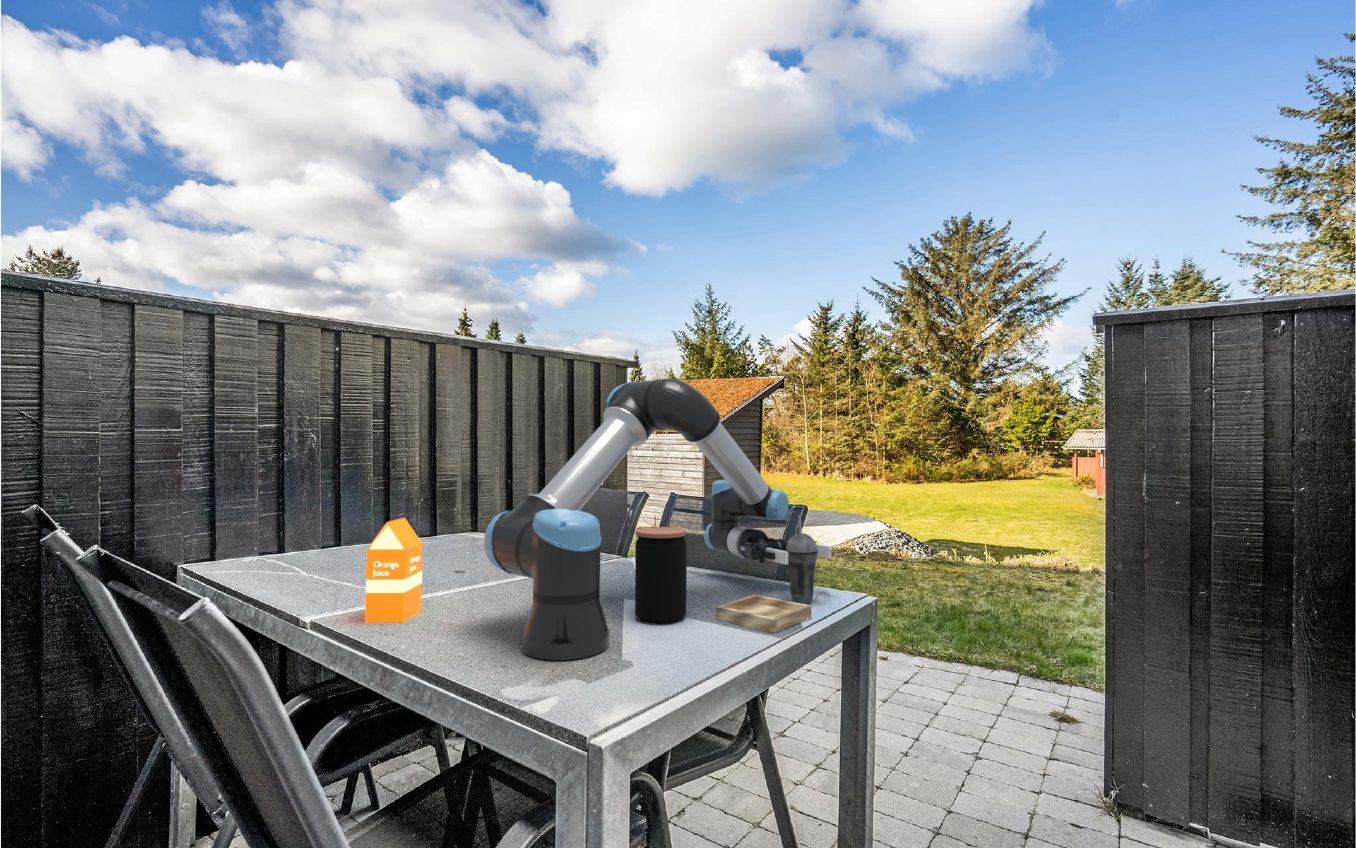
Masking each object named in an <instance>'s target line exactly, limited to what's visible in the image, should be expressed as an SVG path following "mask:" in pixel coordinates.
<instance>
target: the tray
mask: <svg viewBox="0 0 1356 848" xmlns="http://www.w3.org/2000/svg"><path fill="white" fill-rule="evenodd" d="M810 617H811V618H812V605H811V604H808V605H805V604H800V603H795V602H792V601H789V600H784V599H779V598H774V597H768V596H764V595H759V594H753V595H750V596H749V595H748V596H746V597H743V598H739V599H737V600H733V601H731V602H727V603H724V604H721V605H717V606H715V619H716V620H717V621H718V620H719V621H721V622H722V621H723V622H727V623H730V624H735V625H738V626H743V627H745V628H751V629H754V630H759V631H763V632H766V633H770V634H776V633H779V632H781V631H784V630H786V629H789V628H791V627H794V626H796V625H797V624H796V623H798V624H800V622H801V621H803V622H805V621H807V620H806V619H807V618H810ZM811 618H810V619H811ZM804 620H805V621H804ZM801 623H802V622H801ZM795 624H796V625H795ZM790 626H791V627H790ZM785 628H786V629H785ZM780 630H781V631H780Z"/></svg>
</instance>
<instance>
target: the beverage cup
mask: <svg viewBox="0 0 1356 848" xmlns="http://www.w3.org/2000/svg"><path fill="white" fill-rule="evenodd" d="M801 516H802V515H801V514H798V525H799V526H798V529H799V532H798V533H795V534H794V535H792V536H791V537H789V539H788V540H789V541H788V543H787V547H786V552H788V564H787V565H788V574H789V575H788V576H789V577H788V578H789V584H790V585H789V586H790V597H791V602H795V603H800V604H808V605H812V604H813V598H814V588H815V577H816V576H815V575H816V564H817V563H816V562H817V559H818V556H817V553H818V551H817V545H816V544H817V542H816V541H815V540H814V539H813V537H812V536H810V535H808V533H803V532H802V517H801ZM815 542H816V543H815ZM811 603H812V604H811Z"/></svg>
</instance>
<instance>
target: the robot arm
mask: <svg viewBox="0 0 1356 848" xmlns="http://www.w3.org/2000/svg"><path fill="white" fill-rule="evenodd" d="M606 404H607V405H606V406H605V407H604V408H605V410H604V412H603V422H602V423H601V425H600V426H599V427H598V428H597V429H596V430H595V431H594V432H593V433H592V434H591V436H590V437H589V438H588V439H587V440H586V441H585V442H584V444H582V445H581V447H579V449H578V450H577V451H576V452H575V453H574V454H573V455H572V457H570V459H569V460H568V461H567V462H566V463H565V464H564V466H563V467H561V469H560V470H559V471H558V472H557V473H556V475H554V477H553V478H552V479H551V480H550V481H549V482H548V484H546V486H544V488H543V489H541V491H540V492H539V493H534V494H533V493H530V494H528V495H526V496H525V497H524V498H523V499H522V500H521V502H519V503H518V505H517V506H516V507H515V508H514V509H513V510H506V511H503V512H501V513H499V514H497V515H495V516H494V517H493V518H492V520H491V521H490V522H489V523H488V526H487V528H486V530H485V533H484V537H483V538H484V546H483V547H484V551H485V555H486V557H487V559H488V560H489V562H490V563H491V564H492V565H493V566H494V567H495V568H497V569H499V570H501V571H503V572H505V573H507V574H510V575H518V576H522V577H526V578H529V579H532V605H531V607H530V611H529V614H528V616H527V620H526V624H525V627H524V631H523V632H522V636H521V651H522V653H523V654H524V655H526V654H527V655H526V656H528V655H529V656H528V657H530V656H531V658H534V657H535V659H538V658H539V660H544V659H548V660H547V661H569V660H577V659H583V658H585V659H586V658H588V657H592V656H596V655H598V654H600V653H602V652H604V651H605V650H607V649H608V648H609V646H610V630H609V627H608V623H607V621H606V617H605V613H604V610H603V607H602V604H601V597H600V596H601V593H600V592H601V555H602V554H601V550H602V548H601V547H602V545H601V544H602V536H601V527H600V526H601V525H600V521H599V519H598V518H597V517H596V516H595V515H593V514H591V513H589V512H586V511H582V509H583V507H584V506H585V505H587V502H588V501H589V500H590V499H591V498H592V497H593V495H594V494H595V493H596V491H598V489H599V488H600V487H601V486H602V484H603V483H604V482H605V481H606V479H607V478H608V477H609V476H610V474H612V472H613V471H614V470H615V469H616V468H617V466H618V465H619V464H620V463H621V462H622V460H623V459H624V458H625V457H626V456H627V454H628V453H629V452H630V450H631V449H632V448H633V447H641V446H642V445H644V444H645V443H646V442H647V440H648V439H649V438H650V437H651V436H652V434H653V433H654V432H656V431H669V430H670V431H674V432H676V433H679V434H680V435H681V436H683V438H684V439H685V440H686V441H687V442H689V443H694V444H695V445H696V446H697V448H698V449H699V450H700V451H701V453H703V455H704V456H705V457H706V458H707V460H708V461H709V462H710V463H711V464H712V465H713V467H714V468H715V469H716V470H717V472H718V473H719V474H720V475H721V476H722V478H723V479H720V480H715V481H713V482H712V486H711V488H712V489H711V496H710V497H711V523H709V524H708V525H707V526H706V528H705V530H704V534H703V540H704V542H705V545H706V546H707V547H708V548H710V549H711V550H714V551H716V552H719V553H725V554H730V555H734V556H738V557H739V558H740V559H744V558H747V559H750V560H752V561H759V563H760V564H764V563H765V562H766V561H769V562H772V563H778V564H781V565H788V552H786V547H787V543H788V541H789V539H784V538H777V539H776V538H774V537H768V536H767V534H766V532H764V531H763V530H761V529H756V528H750V527H747V526H746V527H745V526H740V518H750V519H751V518H752V519H758V520H767V521H773V520H774V521H776V520H777V521H780V520H782V519H784V518H785V517H786V515H787V514H788V511H789V505H790V504H789V498H788V495H787V494H786V492H784V491H783V490H779V489H772V488H771V487H770V485H768V483H767V482H766V480H765V479H764V478H763V476H762V475H761V474H760V473H759V471H758V470H757V469H756V467H755V466H754V465H753V463H752V462H751V461H750V460H749V458H748V457H747V455H746V454H745V453H744V451H743V450H742V449H741V448H740V446H739V444H737V442H736V441H735V440H734V438H733V437H732V436H731V434H730V433H729V432H728V431H727V429H726V428H725V426H724V425H723V424H722V422H721V414H720V413H719V411H718V410H717V408H715V406H714V405H713V404H712V403H711V402H710V400H708V399H707V397H705V395H703V393H701V392H700V391H698V390H697V389H695V388H694V387H693V386H691V385H690V384H688V383H686V382H684V381H682V380H680V379H676V378H671V377H670V378H668V377H667V378H660V379H652V380H643V381H630V382H629V381H628V382H626V383H623V384H620V385H618V386H616V387H615V388H613V390H612V391H611V392H610V393H609V395H608V396H607V399H606ZM815 543H816V545H817V551H818V553H817V558H818V557H819V558H822V559H823V558H824V559H832V546H829V545H824V544H818V543H817V542H816V541H815Z"/></svg>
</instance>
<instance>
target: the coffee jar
mask: <svg viewBox="0 0 1356 848" xmlns="http://www.w3.org/2000/svg"><path fill="white" fill-rule="evenodd" d="M635 535H636V537H637V540H635V546H634V547H635V550H634V551H635V555H634V556H635V557H634V558H635V563H634V564H635V573H634V578H635V580H634V582H635V583H634V585H635V586H634V589H635V590H634V592H635V593H634V594H635V595H634V600H635V601H634V614H635V617H637V619H638V620H639V621H640V622H642V623H644V624H650V625H671V624H676V623H680V622H681V621H683V620H684V618H685V616H686V615H687V592H688V591H687V586H688V585H687V582H688V581H687V571H688V567H687V566H688V565H687V557H688V556H687V553H688V552H687V546H688V544H687V542H686V541H687V540H686V539H685V537H686V535H687V529H685V528H681V527H675V526H674V527H673V526H649V527H641V528H638V529H635Z"/></svg>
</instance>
